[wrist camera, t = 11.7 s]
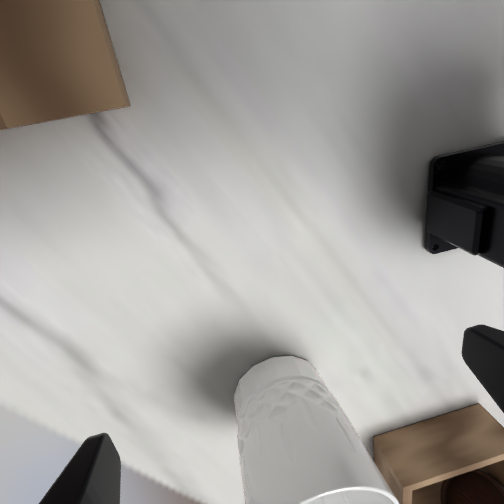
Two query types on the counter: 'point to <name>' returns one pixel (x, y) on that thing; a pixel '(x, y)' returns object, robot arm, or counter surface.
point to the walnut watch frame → (439, 453)
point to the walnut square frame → (56, 62)
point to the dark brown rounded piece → (472, 489)
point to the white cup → (300, 441)
